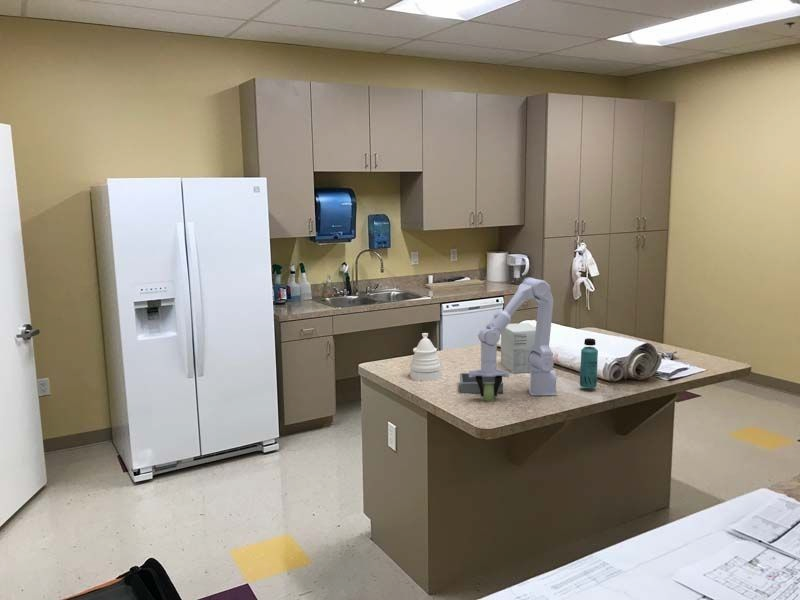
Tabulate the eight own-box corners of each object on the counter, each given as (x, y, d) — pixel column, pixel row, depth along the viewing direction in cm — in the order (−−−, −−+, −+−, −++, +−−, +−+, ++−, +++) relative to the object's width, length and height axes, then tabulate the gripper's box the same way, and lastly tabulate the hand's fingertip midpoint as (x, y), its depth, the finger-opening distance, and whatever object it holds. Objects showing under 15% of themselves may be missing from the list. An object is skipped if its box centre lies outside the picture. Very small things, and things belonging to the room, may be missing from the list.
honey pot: (410, 372, 279) (409, 331, 276) (440, 372, 279) (439, 331, 276) (410, 381, 266) (410, 338, 263) (442, 380, 266) (441, 337, 263)
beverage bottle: (575, 388, 252) (577, 338, 249) (588, 386, 255) (589, 336, 252) (588, 393, 246) (589, 341, 243) (600, 390, 250) (602, 339, 246)
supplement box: (542, 372, 276) (543, 330, 273) (512, 373, 274) (512, 331, 271) (528, 361, 293) (528, 322, 290) (499, 363, 291) (500, 323, 288)
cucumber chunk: (494, 397, 244) (494, 382, 243) (495, 401, 239) (495, 385, 238) (482, 397, 244) (482, 382, 243) (483, 401, 240) (483, 385, 238)
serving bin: (499, 382, 262) (499, 373, 261) (503, 393, 248) (503, 383, 247) (459, 382, 263) (459, 373, 262) (460, 393, 249) (460, 383, 248)
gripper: (469, 362, 236) (469, 399, 238) (509, 362, 235) (509, 399, 237) (468, 358, 242) (468, 393, 245) (507, 357, 242) (507, 393, 244)
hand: (488, 395), depth 241 cm, fingers closed on cucumber chunk, 4 cm apart
